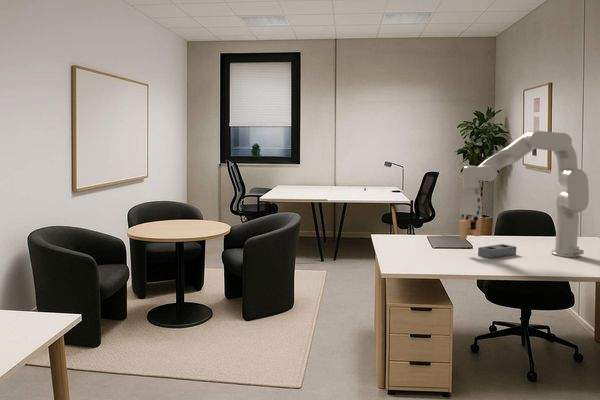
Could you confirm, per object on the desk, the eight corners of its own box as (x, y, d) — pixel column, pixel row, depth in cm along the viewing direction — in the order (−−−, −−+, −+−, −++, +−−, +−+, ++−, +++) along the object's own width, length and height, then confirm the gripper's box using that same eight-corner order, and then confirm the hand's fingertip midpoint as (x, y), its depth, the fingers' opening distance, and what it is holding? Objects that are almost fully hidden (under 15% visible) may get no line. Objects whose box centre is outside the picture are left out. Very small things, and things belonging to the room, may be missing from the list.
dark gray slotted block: (516, 254, 273) (516, 246, 272) (491, 258, 263) (492, 250, 262) (501, 251, 279) (502, 243, 279) (477, 255, 270) (478, 247, 269)
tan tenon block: (481, 235, 277) (481, 218, 276) (463, 238, 270) (463, 221, 269) (476, 235, 280) (476, 218, 279) (458, 238, 273) (458, 220, 272)
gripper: (489, 192, 268) (489, 230, 270) (462, 189, 281) (462, 226, 283) (479, 193, 264) (478, 232, 266) (452, 190, 277) (451, 227, 279)
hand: (470, 228), depth 275 cm, fingers closed on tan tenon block, 3 cm apart
